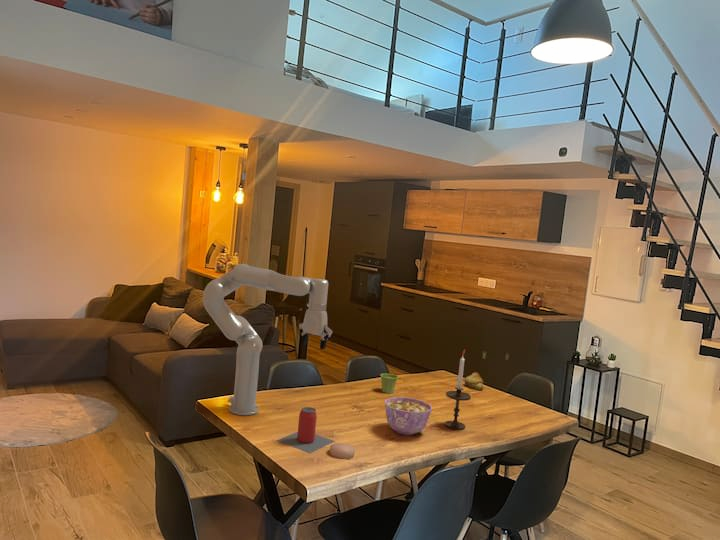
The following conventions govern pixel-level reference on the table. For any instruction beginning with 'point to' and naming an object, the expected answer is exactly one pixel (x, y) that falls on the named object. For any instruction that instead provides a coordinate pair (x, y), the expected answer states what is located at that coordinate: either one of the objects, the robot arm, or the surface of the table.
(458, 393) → the candlestick
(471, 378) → the lumpy yellow-green gourd
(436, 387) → the table surface
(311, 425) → the beer can
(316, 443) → the slate mat
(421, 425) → the bowl of food
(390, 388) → the plant pot
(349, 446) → the pinkish beige domed disc
